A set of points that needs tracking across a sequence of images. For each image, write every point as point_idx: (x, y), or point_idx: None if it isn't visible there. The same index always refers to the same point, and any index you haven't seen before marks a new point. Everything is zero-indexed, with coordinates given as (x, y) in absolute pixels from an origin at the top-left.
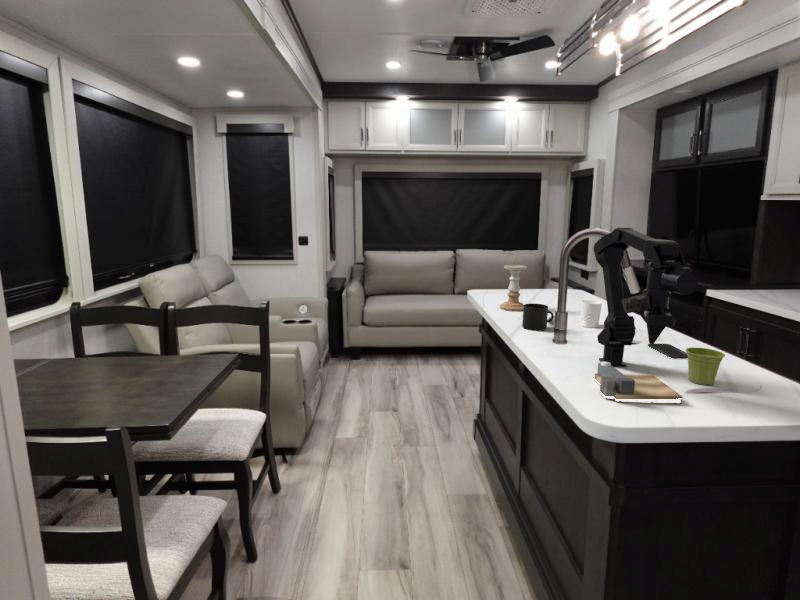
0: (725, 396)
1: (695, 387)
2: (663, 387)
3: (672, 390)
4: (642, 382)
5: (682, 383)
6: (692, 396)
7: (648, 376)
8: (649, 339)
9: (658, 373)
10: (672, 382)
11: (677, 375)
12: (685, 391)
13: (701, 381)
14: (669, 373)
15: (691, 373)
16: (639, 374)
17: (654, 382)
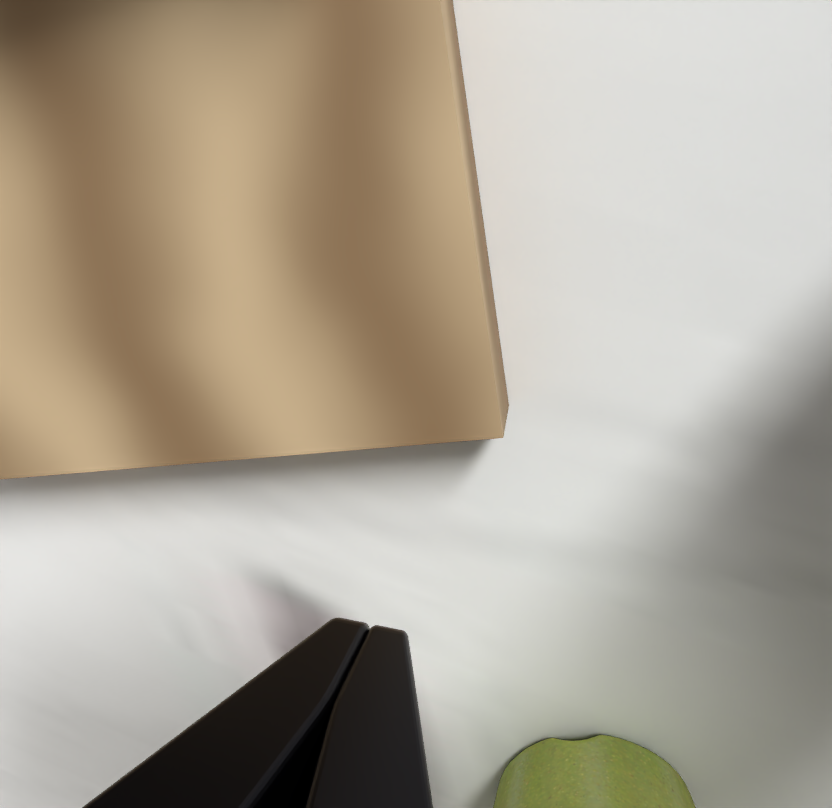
0: None
1: (428, 701)
2: (110, 407)
3: (57, 458)
4: (186, 235)
5: (513, 649)
6: (202, 594)
7: (423, 367)
8: (269, 668)
9: (811, 558)
10: (524, 581)
11: (753, 701)
12: (304, 591)
13: (500, 790)
14: (817, 659)
15: (561, 792)
16: (479, 282)
17: (231, 368)
